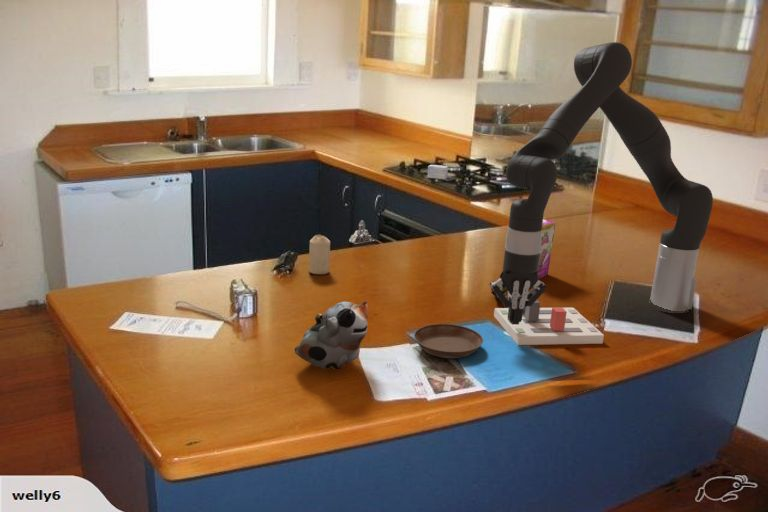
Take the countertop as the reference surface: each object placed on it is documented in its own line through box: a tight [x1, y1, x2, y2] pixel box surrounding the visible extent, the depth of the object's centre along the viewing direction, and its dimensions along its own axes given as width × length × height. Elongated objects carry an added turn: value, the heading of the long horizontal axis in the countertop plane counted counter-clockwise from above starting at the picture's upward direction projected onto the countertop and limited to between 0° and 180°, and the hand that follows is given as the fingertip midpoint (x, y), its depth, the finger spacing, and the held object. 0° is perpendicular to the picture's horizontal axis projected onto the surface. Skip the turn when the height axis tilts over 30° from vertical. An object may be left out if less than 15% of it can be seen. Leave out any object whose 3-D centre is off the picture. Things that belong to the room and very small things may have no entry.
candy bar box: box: [537, 218, 556, 279], centre depth 208 cm, size 11×5×16 cm, turn 135°
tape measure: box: [490, 284, 508, 300], centre depth 191 cm, size 7×7×4 cm
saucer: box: [413, 323, 484, 359], centre depth 163 cm, size 15×15×3 cm
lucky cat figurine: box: [294, 300, 370, 371], centre depth 152 cm, size 15×12×14 cm
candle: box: [308, 234, 331, 275], centre depth 205 cm, size 6×6×10 cm
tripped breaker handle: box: [550, 307, 567, 331], centre depth 170 cm, size 2×2×4 cm
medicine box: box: [427, 164, 449, 180], centre depth 324 cm, size 8×4×9 cm, turn 74°
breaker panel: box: [493, 291, 605, 346], centre depth 175 cm, size 20×17×7 cm
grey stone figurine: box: [348, 219, 375, 245], centre depth 236 cm, size 9×9×8 cm
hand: (514, 323), depth 168 cm, fingers closed
